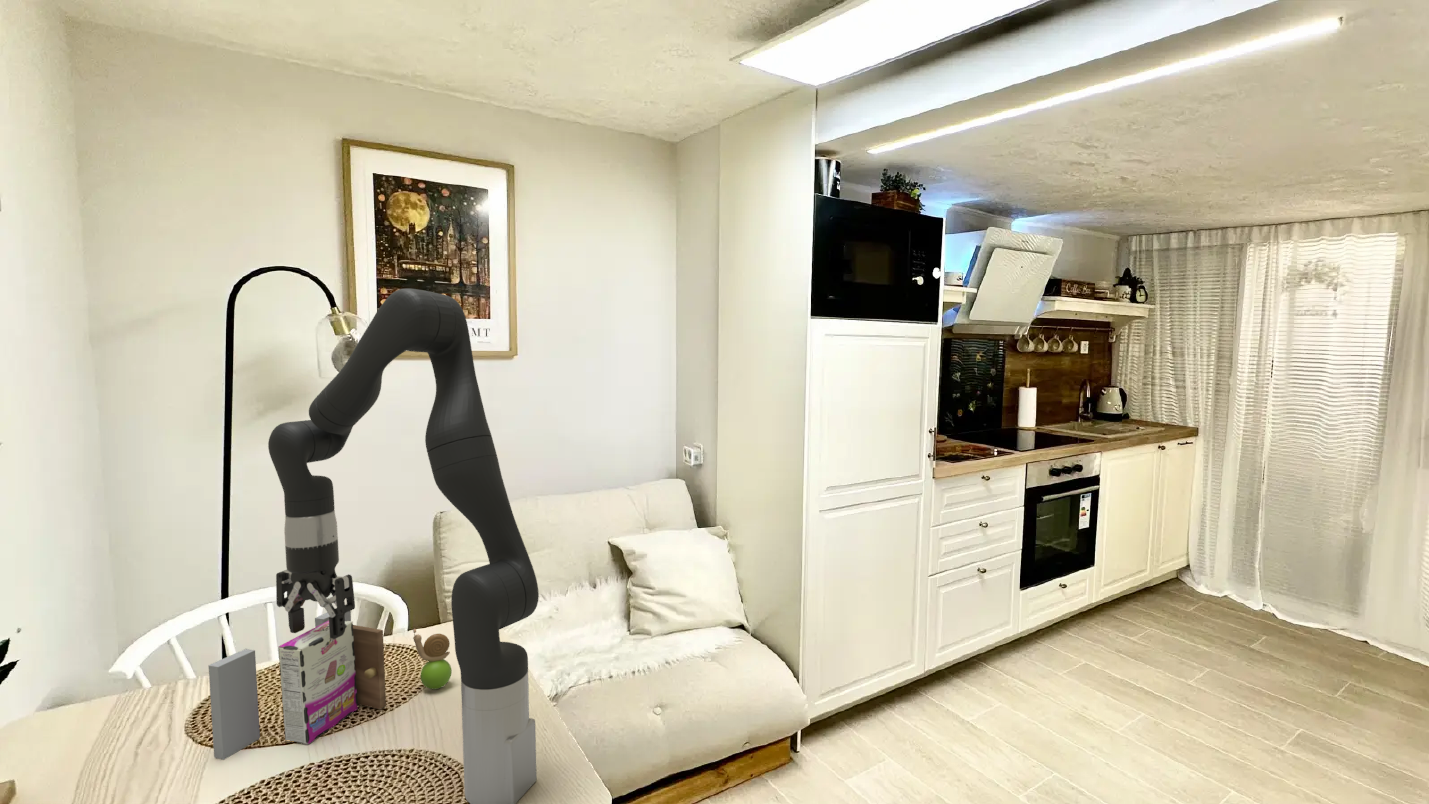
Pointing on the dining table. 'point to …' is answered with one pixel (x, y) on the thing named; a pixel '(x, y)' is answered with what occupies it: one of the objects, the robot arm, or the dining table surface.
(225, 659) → the door frame
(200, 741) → the dining table surface
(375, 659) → the door
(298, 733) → the candy bar box
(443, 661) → the snail figurine
